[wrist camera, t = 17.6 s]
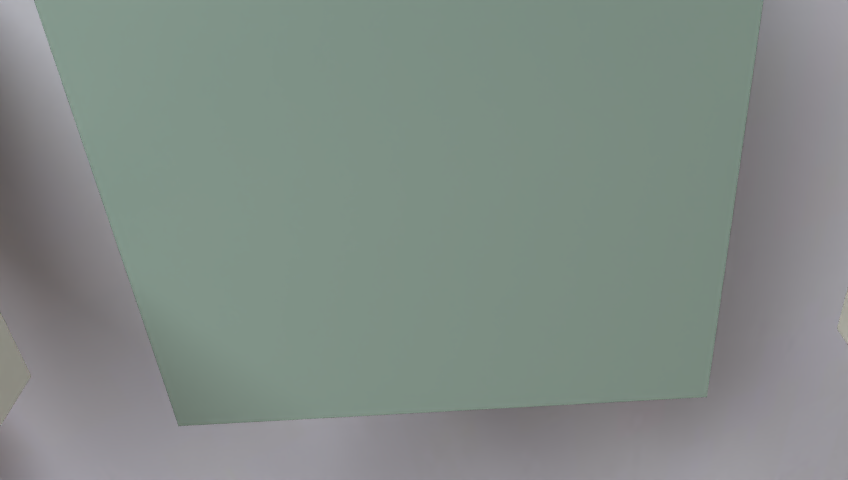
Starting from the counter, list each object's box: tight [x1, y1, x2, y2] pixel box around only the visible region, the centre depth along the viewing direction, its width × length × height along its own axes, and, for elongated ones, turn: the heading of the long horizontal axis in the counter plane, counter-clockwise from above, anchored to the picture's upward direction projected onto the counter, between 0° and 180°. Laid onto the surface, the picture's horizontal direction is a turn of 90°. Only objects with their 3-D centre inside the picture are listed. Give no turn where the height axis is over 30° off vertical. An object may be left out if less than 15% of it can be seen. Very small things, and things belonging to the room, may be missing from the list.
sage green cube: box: [34, 0, 763, 426], centre depth 16 cm, size 10×10×9 cm
